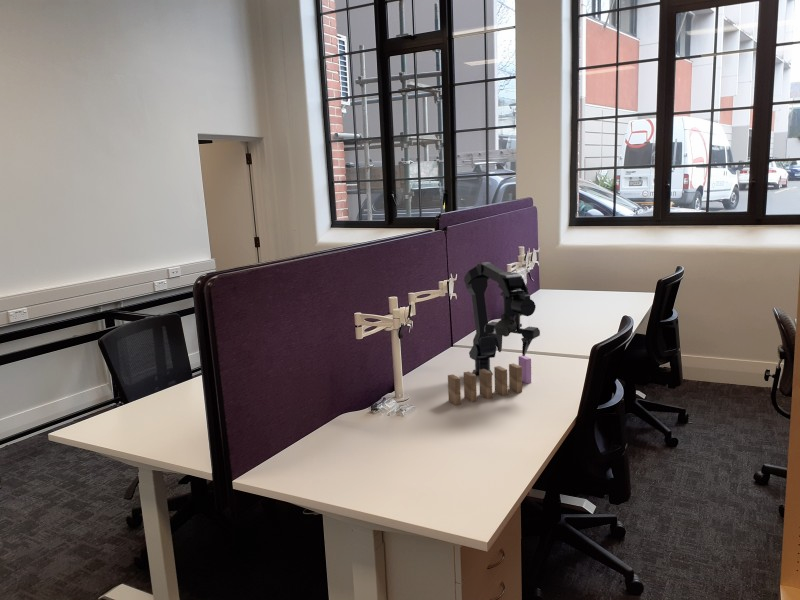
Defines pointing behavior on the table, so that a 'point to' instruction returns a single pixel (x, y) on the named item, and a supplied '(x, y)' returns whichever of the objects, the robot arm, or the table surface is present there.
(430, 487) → the table surface
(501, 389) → the walnut domino
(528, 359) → the plum domino
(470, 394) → the walnut domino
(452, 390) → the walnut domino
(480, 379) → the walnut domino
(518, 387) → the walnut domino
